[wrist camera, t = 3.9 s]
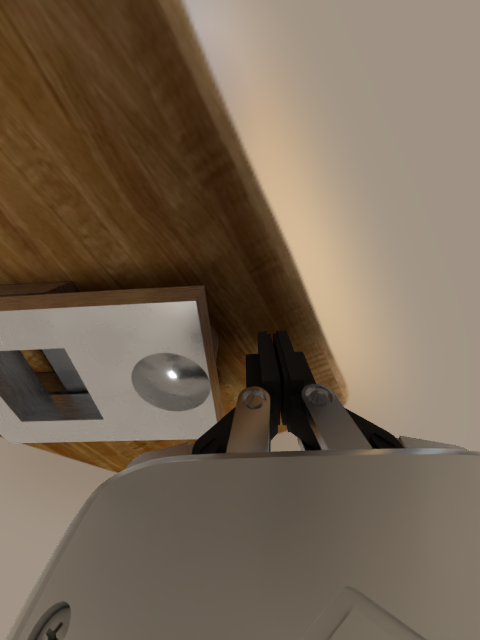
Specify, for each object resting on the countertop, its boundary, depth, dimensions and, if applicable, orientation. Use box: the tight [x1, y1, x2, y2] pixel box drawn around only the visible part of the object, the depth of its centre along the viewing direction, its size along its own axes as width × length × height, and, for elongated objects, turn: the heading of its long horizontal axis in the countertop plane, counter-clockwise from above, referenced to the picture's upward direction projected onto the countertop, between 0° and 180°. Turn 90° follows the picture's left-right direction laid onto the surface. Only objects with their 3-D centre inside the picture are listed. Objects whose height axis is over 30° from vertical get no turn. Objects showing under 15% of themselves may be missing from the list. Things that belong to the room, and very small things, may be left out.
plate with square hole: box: [0, 285, 223, 443], centre depth 13 cm, size 14×9×4 cm, turn 94°
